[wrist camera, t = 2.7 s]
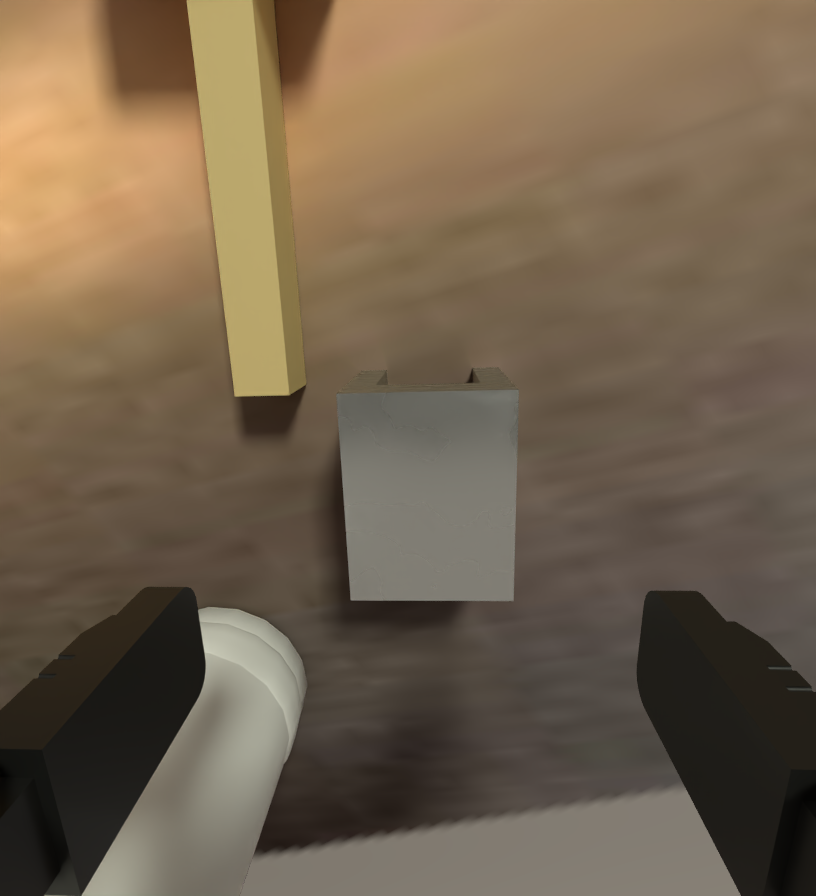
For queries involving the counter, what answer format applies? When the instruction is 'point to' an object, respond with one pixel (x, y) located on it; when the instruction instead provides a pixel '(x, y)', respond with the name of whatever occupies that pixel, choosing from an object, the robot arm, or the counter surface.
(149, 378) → the counter surface
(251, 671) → the bottle
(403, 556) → the slotted grey block
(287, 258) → the yellow t-shaped block
